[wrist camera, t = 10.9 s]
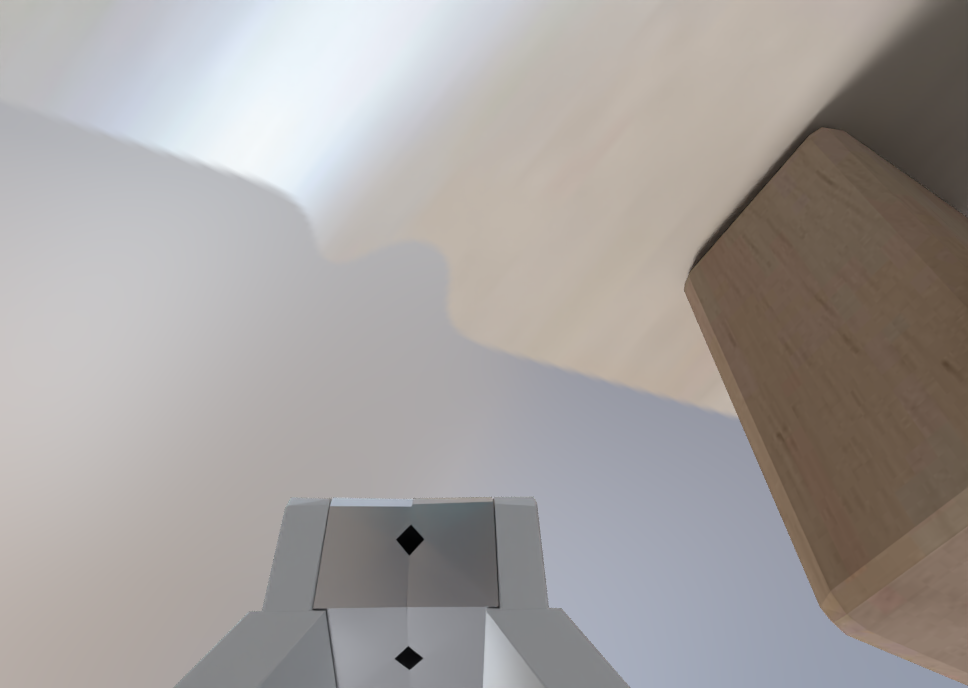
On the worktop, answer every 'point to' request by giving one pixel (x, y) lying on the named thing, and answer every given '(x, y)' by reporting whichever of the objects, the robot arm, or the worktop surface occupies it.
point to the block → (855, 386)
